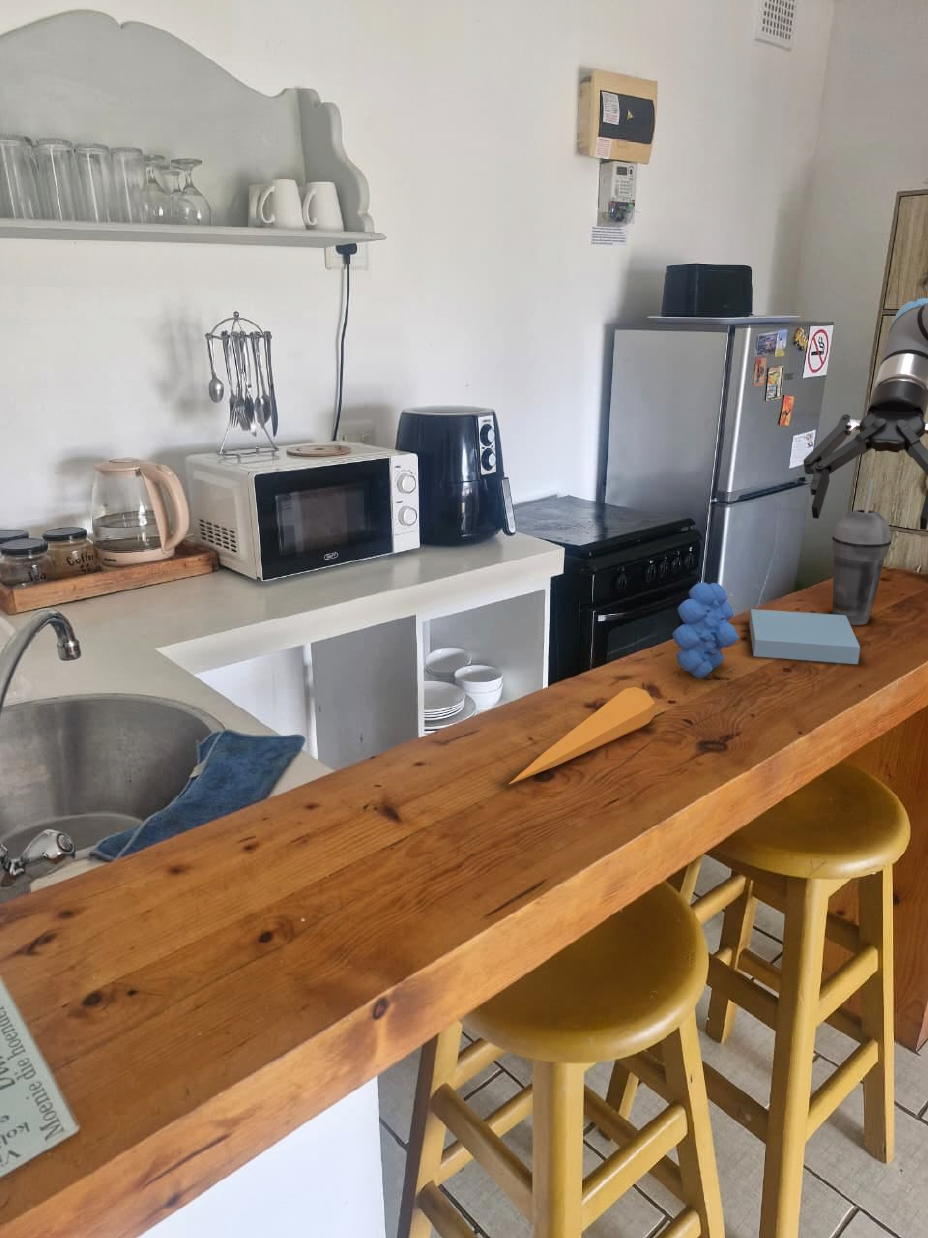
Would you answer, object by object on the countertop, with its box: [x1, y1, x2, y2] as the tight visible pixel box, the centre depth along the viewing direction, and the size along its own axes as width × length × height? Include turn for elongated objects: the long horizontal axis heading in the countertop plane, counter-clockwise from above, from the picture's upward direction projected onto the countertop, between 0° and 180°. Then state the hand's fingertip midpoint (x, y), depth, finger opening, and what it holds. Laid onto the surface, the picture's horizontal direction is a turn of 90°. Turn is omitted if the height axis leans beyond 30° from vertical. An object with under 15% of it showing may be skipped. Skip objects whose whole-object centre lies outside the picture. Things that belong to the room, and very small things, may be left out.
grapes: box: [672, 582, 740, 679], centre depth 100 cm, size 12×7×12 cm, turn 138°
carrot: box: [508, 686, 656, 785], centre depth 85 cm, size 20×4×4 cm, turn 132°
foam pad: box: [748, 608, 861, 665], centre depth 111 cm, size 12×12×2 cm
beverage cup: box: [831, 477, 892, 626], centre depth 116 cm, size 7×7×20 cm
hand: (867, 518), depth 118 cm, fingers open, 13 cm apart
